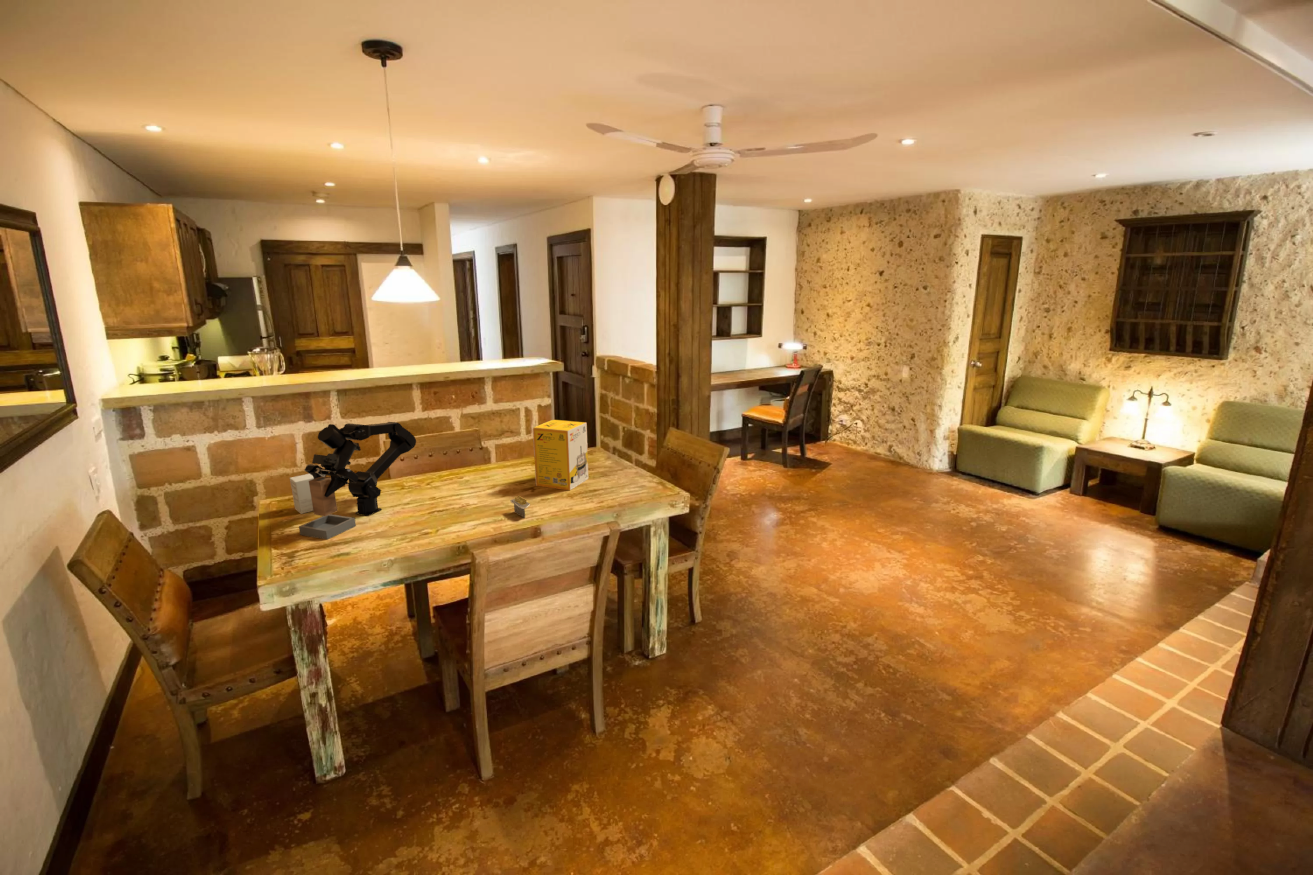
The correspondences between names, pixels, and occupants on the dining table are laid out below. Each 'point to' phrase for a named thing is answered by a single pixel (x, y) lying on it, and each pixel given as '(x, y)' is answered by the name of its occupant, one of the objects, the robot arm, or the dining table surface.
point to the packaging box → (560, 454)
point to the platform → (520, 505)
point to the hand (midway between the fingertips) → (319, 495)
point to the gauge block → (322, 497)
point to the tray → (327, 526)
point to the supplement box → (302, 493)
